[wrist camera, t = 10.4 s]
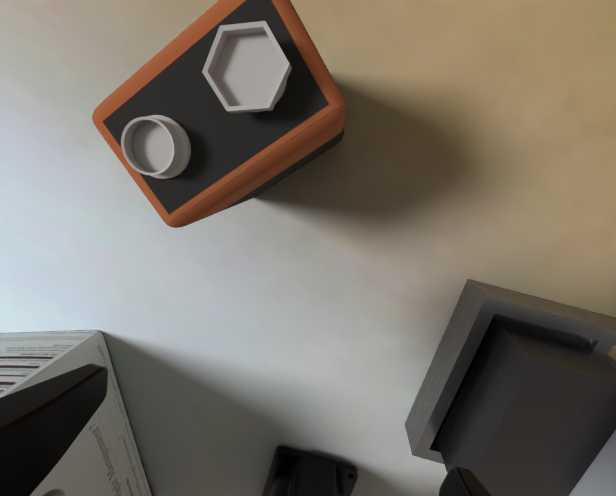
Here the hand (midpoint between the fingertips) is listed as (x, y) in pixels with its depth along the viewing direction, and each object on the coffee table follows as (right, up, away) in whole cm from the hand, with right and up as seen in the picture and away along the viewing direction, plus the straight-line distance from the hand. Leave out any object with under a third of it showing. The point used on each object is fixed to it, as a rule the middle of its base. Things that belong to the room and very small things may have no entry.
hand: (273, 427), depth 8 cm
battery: (-1, +11, +10) cm, 15 cm away
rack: (+16, -4, +12) cm, 20 cm away
